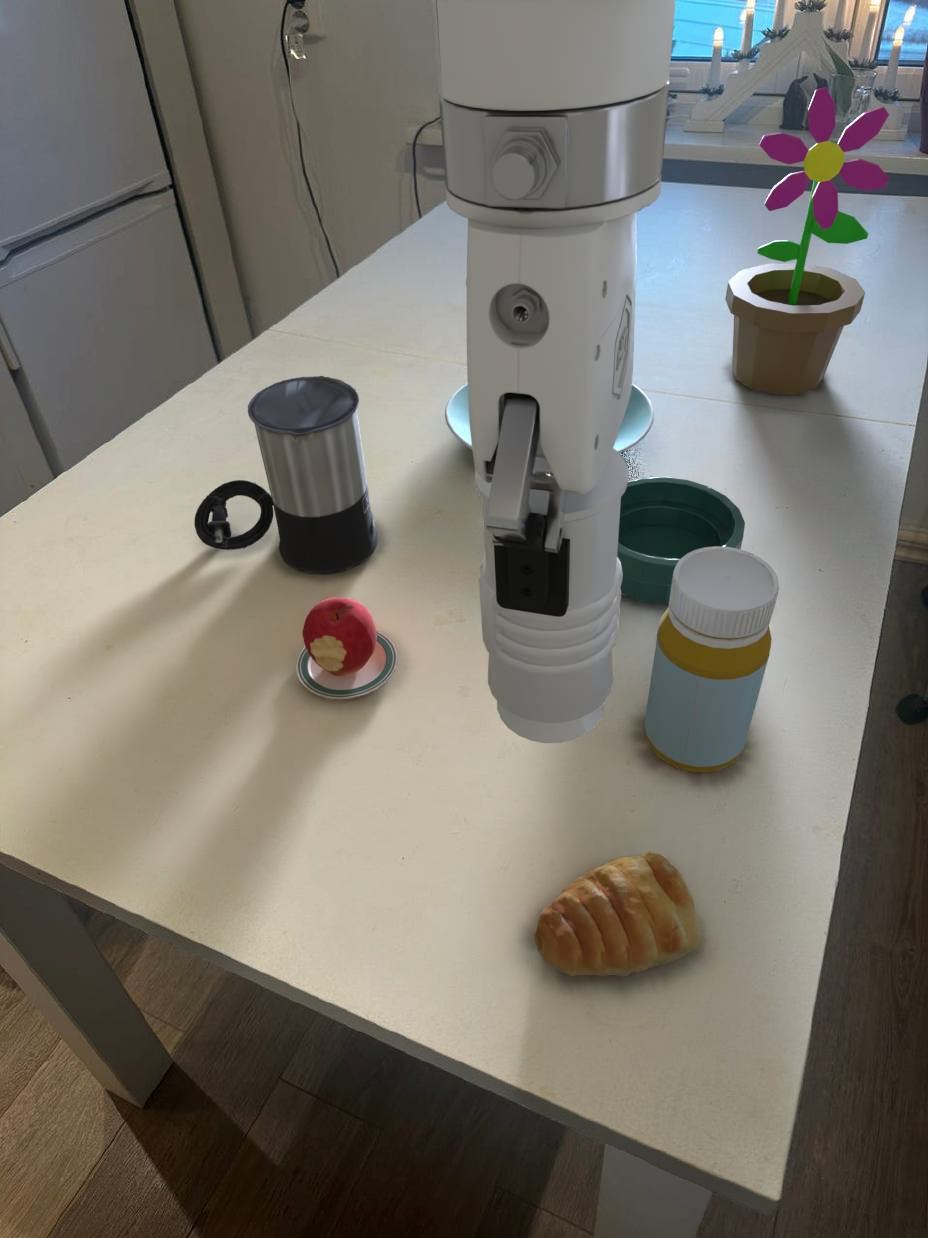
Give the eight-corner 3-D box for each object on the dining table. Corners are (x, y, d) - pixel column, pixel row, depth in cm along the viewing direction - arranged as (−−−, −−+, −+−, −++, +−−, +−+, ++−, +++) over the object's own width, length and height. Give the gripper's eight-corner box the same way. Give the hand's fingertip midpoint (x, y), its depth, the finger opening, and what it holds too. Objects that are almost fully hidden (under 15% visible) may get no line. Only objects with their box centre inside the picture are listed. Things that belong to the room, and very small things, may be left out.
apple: (412, 683, 68) (405, 621, 63) (312, 716, 66) (298, 654, 61) (379, 620, 73) (370, 559, 69) (286, 649, 71) (271, 588, 67)
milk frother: (392, 561, 79) (374, 414, 69) (218, 608, 75) (173, 460, 65) (348, 482, 89) (327, 343, 79) (193, 521, 85) (150, 380, 75)
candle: (468, 680, 50) (449, 453, 40) (577, 645, 52) (585, 417, 42) (516, 767, 45) (508, 533, 35) (635, 725, 47) (660, 489, 37)
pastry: (564, 1014, 48) (566, 982, 46) (515, 911, 53) (515, 877, 51) (710, 952, 51) (720, 918, 48) (650, 859, 55) (657, 824, 53)
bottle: (738, 788, 59) (783, 625, 49) (635, 765, 61) (657, 603, 51) (747, 714, 64) (790, 552, 54) (651, 694, 66) (675, 534, 56)
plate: (483, 373, 106) (482, 351, 104) (667, 396, 99) (670, 373, 98) (415, 469, 90) (413, 445, 88) (628, 503, 84) (631, 478, 82)
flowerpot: (707, 395, 99) (755, 93, 79) (720, 341, 109) (766, 61, 89) (840, 410, 96) (926, 97, 75) (842, 353, 106) (918, 63, 85)
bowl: (739, 533, 80) (749, 487, 77) (727, 623, 71) (738, 575, 68) (603, 514, 83) (607, 469, 80) (575, 597, 74) (578, 551, 71)
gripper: (617, 240, 23) (592, 706, 35) (693, 90, 35) (655, 474, 47) (353, 229, 25) (416, 673, 37) (512, 91, 37) (520, 459, 49)
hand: (550, 559), depth 42 cm, fingers closed on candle, 6 cm apart
